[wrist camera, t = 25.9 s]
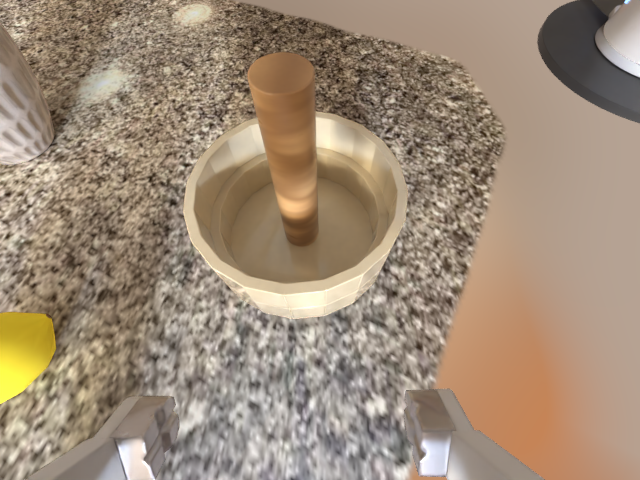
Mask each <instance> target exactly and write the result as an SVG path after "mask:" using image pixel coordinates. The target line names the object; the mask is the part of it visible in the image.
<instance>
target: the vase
mask: <svg viewBox="0 0 640 480" xmlns="http://www.w3.org/2000/svg"><path fill="white" fill-rule="evenodd" d="M53 139H54V128H53V123H52V119H51V115H50V111H49V107H48V104H47V100H46V98H45V96H44V94H43V91H42V89H41V87H40V84H39V82H38V80H37V78H36V76H35V75H34V73H33V71H32V69H31V68H30V66H29V64H28V62H27V61H26V59H25V57H24V55H23V54H22V52H21V50H20V49H19V47H18V46H17V45H16V43H15V42H14V40H13V39H12V38H11V36H10V35H9V33H8V32H7V31H6V29H5V28H4V26H3V25H2V23H1V22H0V164H4V165H15V164H20V163H24V162H27V161H30V160H32V159H34V158H36V157H37V156H39V155H40V154H42V153H43V152H44V151H45V150H46V149H47V148H48V147H49V146H50V145H51V143H52V141H53Z"/></svg>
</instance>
